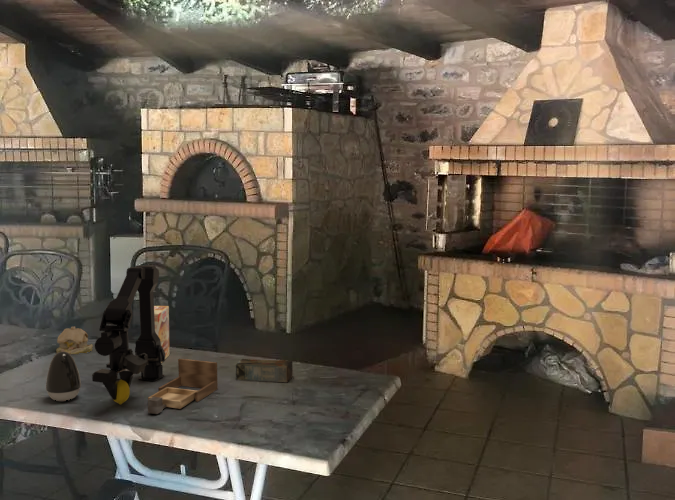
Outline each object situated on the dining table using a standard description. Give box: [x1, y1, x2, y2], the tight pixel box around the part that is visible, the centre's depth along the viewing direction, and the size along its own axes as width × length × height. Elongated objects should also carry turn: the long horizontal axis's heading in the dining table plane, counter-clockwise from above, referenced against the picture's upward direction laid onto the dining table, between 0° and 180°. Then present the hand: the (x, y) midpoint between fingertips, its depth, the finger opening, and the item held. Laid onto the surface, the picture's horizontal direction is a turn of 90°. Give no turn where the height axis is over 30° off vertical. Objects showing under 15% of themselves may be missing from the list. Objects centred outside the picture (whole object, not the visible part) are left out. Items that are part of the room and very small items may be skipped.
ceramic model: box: [55, 326, 94, 355], centre depth 266 cm, size 14×11×10 cm
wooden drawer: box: [147, 387, 198, 415], centre depth 206 cm, size 11×17×4 cm, turn 162°
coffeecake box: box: [154, 305, 170, 364], centre depth 254 cm, size 15×7×20 cm, turn 179°
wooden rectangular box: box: [235, 358, 294, 383], centre depth 233 cm, size 8×19×6 cm, turn 81°
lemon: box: [113, 380, 131, 405], centre depth 206 cm, size 6×6×8 cm
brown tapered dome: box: [45, 351, 82, 402], centre depth 210 cm, size 10×10×15 cm
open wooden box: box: [157, 358, 219, 403], centre depth 217 cm, size 14×13×9 cm
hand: (120, 396), depth 206 cm, fingers closed on lemon, 6 cm apart
